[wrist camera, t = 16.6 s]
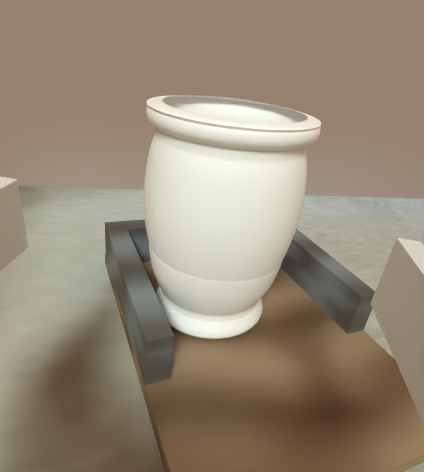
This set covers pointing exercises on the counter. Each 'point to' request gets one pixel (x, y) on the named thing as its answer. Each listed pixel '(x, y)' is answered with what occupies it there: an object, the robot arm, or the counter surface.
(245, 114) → the jar
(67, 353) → the counter surface
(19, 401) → the counter surface
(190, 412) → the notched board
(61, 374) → the counter surface
